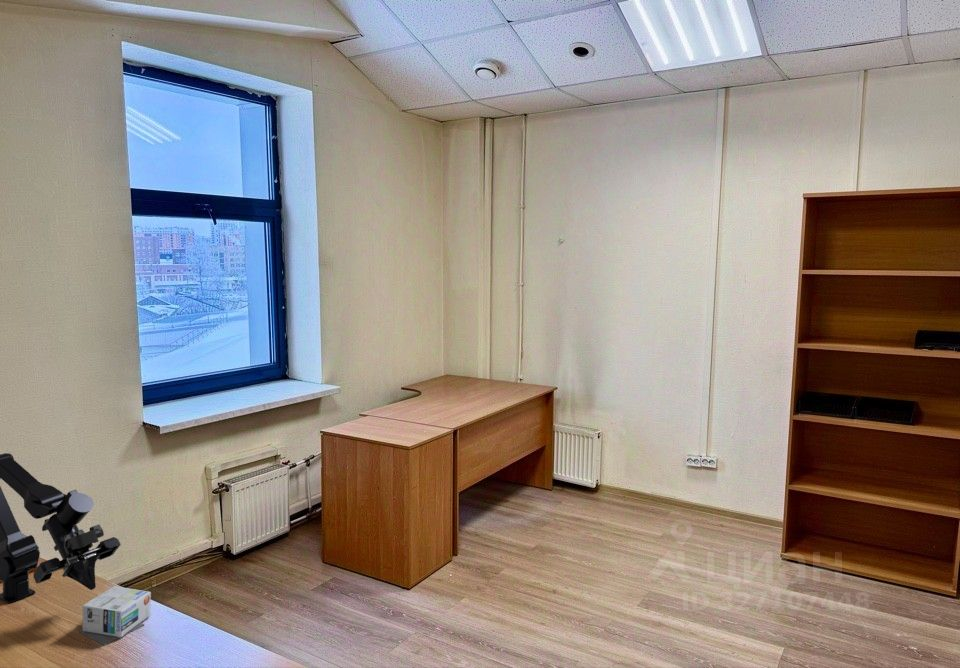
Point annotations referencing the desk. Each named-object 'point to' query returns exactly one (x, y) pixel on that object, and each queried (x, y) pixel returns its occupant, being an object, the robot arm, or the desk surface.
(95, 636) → the rubber mat
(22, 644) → the desk surface
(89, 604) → the light bulb box
